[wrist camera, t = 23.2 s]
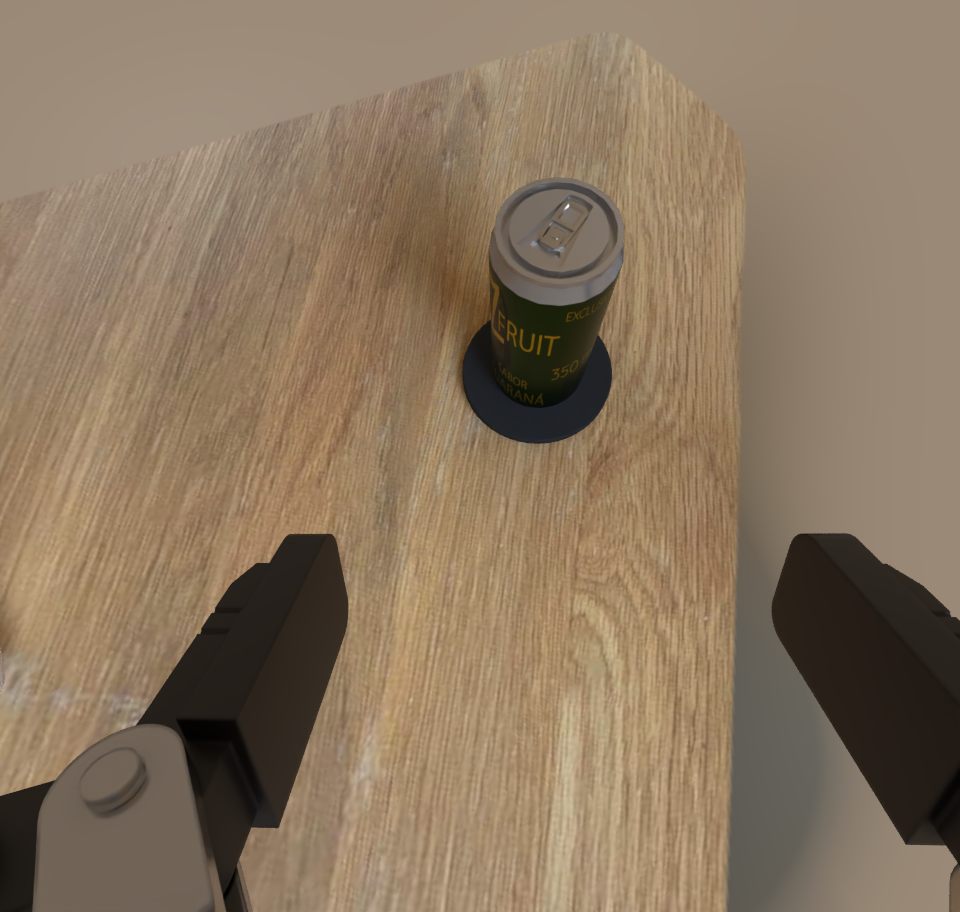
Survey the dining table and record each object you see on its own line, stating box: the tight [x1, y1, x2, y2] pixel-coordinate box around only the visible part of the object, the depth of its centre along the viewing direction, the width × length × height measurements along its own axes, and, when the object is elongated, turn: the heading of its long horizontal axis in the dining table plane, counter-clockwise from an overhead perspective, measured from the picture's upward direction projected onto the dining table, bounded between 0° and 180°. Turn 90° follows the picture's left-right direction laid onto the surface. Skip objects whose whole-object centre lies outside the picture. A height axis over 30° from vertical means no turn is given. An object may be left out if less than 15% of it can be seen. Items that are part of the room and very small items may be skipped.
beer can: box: [489, 177, 624, 408], centre depth 25 cm, size 5×5×12 cm
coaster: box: [462, 320, 612, 444], centre depth 31 cm, size 9×9×1 cm
